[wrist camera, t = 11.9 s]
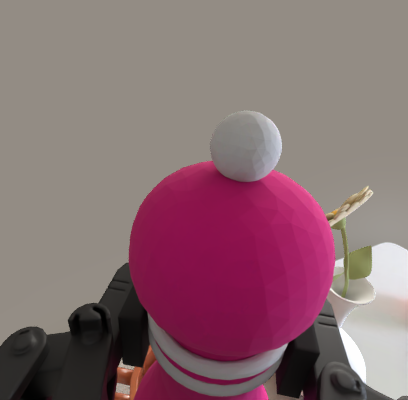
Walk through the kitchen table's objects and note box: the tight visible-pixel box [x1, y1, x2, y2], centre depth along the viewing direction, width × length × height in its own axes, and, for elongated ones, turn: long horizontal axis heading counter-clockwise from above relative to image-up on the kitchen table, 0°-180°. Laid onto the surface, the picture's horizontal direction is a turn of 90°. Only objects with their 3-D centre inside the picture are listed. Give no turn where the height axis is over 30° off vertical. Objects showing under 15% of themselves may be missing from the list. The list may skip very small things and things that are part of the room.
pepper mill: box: [129, 111, 335, 400], centre depth 12 cm, size 7×7×20 cm
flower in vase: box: [300, 186, 375, 396], centre depth 29 cm, size 13×11×25 cm
